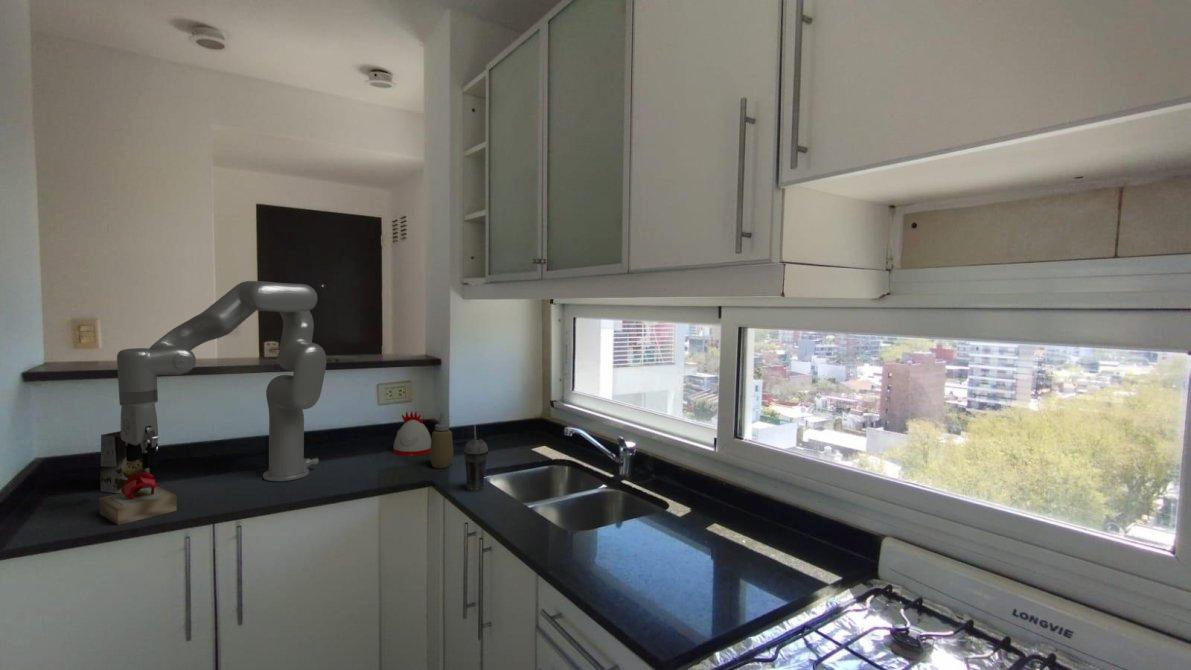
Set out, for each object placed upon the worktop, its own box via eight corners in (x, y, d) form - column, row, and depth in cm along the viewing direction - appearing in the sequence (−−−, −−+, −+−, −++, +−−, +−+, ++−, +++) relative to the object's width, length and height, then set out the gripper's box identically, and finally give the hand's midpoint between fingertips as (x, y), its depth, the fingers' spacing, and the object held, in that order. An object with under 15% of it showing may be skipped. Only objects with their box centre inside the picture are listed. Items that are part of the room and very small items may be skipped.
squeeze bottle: (424, 467, 187) (425, 415, 186) (439, 461, 195) (440, 411, 194) (443, 471, 184) (444, 417, 183) (458, 464, 192) (459, 413, 191)
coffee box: (118, 494, 153) (117, 436, 152) (99, 491, 154) (99, 434, 153) (150, 483, 162) (150, 429, 161) (133, 481, 163) (132, 427, 162)
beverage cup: (491, 487, 170) (493, 423, 169) (479, 495, 163) (481, 427, 162) (471, 484, 172) (472, 420, 171) (457, 491, 165) (459, 425, 164)
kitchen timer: (398, 446, 214) (399, 407, 213) (435, 446, 215) (435, 408, 215) (389, 455, 200) (389, 414, 199) (428, 456, 202) (429, 415, 201)
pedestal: (156, 500, 149) (156, 485, 149) (176, 510, 143) (176, 494, 143) (99, 513, 139) (99, 497, 139) (117, 525, 133) (117, 508, 132)
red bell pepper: (164, 482, 142) (159, 466, 145) (138, 480, 137) (133, 464, 140) (145, 506, 142) (140, 489, 145) (118, 505, 137) (114, 488, 140)
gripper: (106, 395, 141) (110, 461, 142) (134, 404, 132) (138, 474, 133) (142, 391, 147) (146, 454, 149) (171, 399, 138) (174, 466, 140)
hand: (142, 463), depth 141 cm, fingers open, 9 cm apart
